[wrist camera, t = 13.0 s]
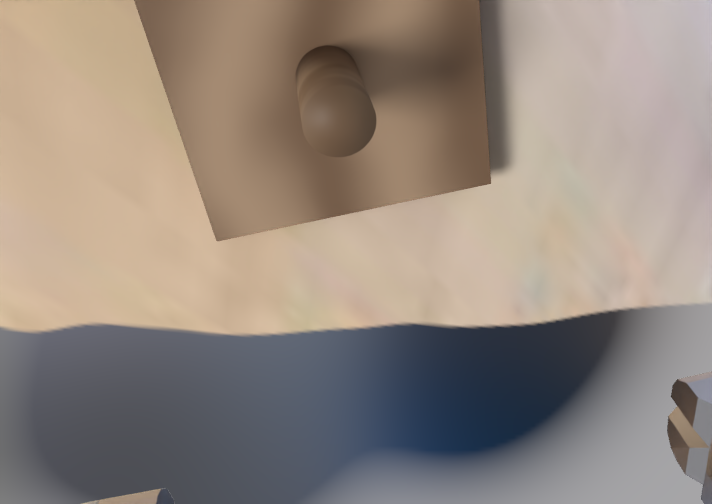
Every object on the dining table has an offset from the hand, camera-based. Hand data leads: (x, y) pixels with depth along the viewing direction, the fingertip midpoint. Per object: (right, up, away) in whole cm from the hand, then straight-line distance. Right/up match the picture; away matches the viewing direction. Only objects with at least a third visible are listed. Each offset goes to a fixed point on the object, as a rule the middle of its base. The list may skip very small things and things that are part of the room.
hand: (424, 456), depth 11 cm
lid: (-2, +11, +17) cm, 21 cm away
